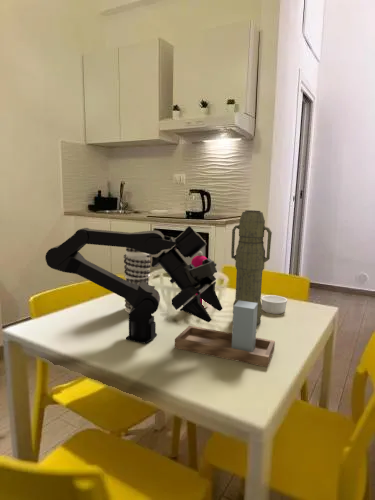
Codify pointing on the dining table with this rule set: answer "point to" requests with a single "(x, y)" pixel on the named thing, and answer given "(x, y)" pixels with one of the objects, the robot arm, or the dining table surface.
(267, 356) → the wooden tray
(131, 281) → the decorative candle
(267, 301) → the ramekin
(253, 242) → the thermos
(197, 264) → the pepper mill
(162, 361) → the dining table surface
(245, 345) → the slate post
